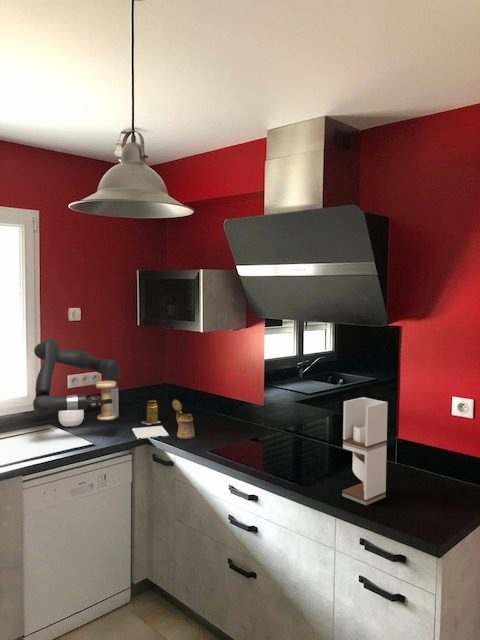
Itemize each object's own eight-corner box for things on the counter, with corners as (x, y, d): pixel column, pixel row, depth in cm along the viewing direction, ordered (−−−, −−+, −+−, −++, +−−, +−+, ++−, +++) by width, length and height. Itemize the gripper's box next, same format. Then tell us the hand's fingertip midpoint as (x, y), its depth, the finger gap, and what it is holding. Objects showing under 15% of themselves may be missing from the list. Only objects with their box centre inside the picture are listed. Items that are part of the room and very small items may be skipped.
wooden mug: (180, 431, 275) (180, 397, 274) (198, 436, 266) (198, 401, 265) (167, 434, 268) (167, 400, 267) (185, 440, 259) (185, 404, 258)
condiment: (160, 422, 293) (160, 401, 292) (148, 425, 287) (147, 403, 286) (153, 419, 298) (153, 399, 297) (140, 422, 292) (140, 401, 291)
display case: (361, 488, 199) (363, 397, 196) (385, 497, 190) (387, 402, 188) (342, 495, 191) (343, 401, 189) (366, 505, 183) (367, 406, 181)
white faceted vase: (64, 429, 277) (64, 404, 277) (54, 424, 287) (54, 400, 286) (88, 425, 286) (87, 401, 285) (77, 420, 296) (77, 397, 295)
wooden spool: (95, 416, 267) (95, 381, 266) (115, 414, 271) (115, 380, 269) (97, 421, 258) (96, 385, 257) (117, 419, 261) (117, 383, 260)
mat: (132, 429, 278) (132, 428, 278) (161, 426, 284) (161, 425, 283) (137, 438, 261) (137, 437, 261) (168, 435, 267) (168, 434, 267)
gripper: (77, 398, 252) (113, 395, 258) (75, 392, 265) (110, 389, 271) (77, 413, 252) (113, 410, 258) (76, 406, 266) (110, 403, 272)
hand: (111, 399), depth 265 cm, fingers closed on wooden spool, 5 cm apart
